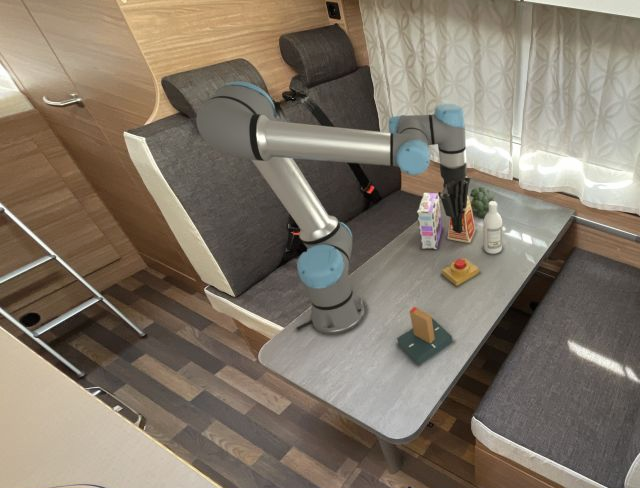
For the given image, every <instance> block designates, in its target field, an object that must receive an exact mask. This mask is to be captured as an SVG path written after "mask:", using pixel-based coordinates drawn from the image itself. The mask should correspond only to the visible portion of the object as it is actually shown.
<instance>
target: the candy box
mask: <svg viewBox="0 0 640 488" xmlns="http://www.w3.org/2000/svg"><path fill="white" fill-rule="evenodd" d="M438 193H439V192H423V195H422V197H421V200H420V203H419V206H418V209H417V211H416V215H417V223H418V231H419V237H420V244H421V249H426V250H438V246H439V242H440V239H441V236H442V235H441V234H442V232H443V223H442V214H441V213H442V212H441V203H440V197H439V195H438Z"/></svg>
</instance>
